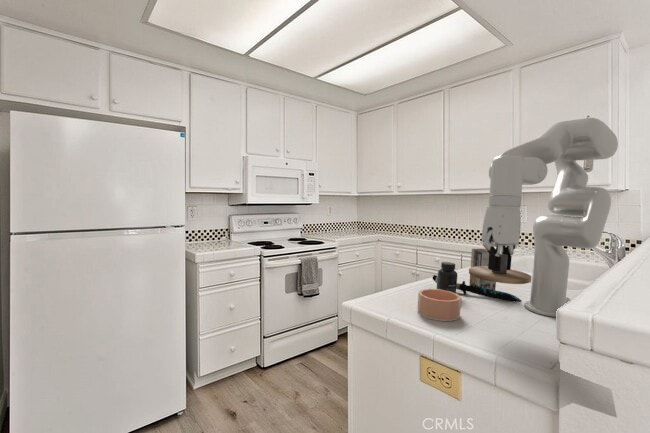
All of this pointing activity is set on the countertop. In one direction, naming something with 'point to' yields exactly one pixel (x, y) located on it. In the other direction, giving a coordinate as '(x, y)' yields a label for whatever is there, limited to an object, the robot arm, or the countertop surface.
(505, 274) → the lid
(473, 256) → the coffee box
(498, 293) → the knife
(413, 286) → the countertop surface
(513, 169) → the robot arm
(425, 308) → the bowl
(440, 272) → the supplement bottle
